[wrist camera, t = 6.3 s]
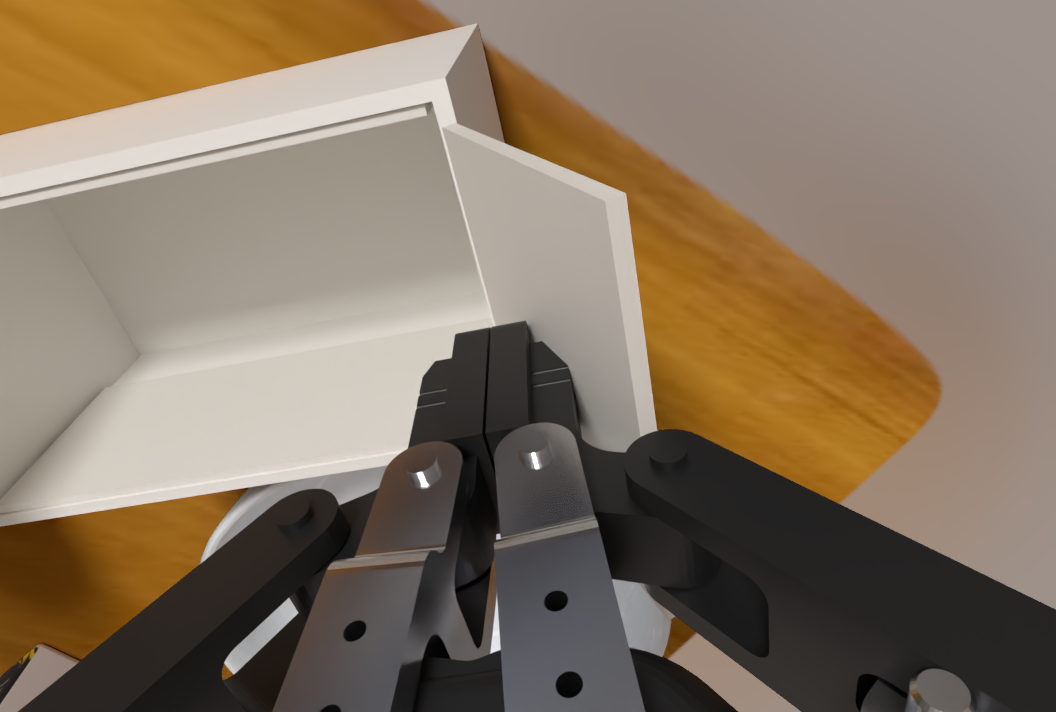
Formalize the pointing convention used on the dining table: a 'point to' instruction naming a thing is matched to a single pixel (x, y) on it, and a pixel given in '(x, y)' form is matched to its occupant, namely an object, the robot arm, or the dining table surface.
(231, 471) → the carton
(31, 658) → the medicine bottle
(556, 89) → the dining table surface
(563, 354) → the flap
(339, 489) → the serving bowl
